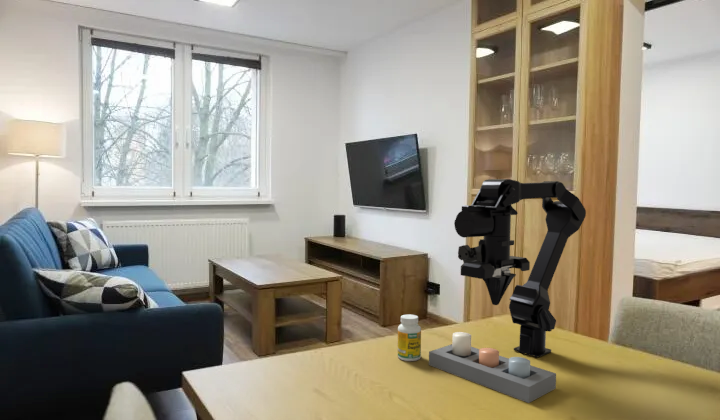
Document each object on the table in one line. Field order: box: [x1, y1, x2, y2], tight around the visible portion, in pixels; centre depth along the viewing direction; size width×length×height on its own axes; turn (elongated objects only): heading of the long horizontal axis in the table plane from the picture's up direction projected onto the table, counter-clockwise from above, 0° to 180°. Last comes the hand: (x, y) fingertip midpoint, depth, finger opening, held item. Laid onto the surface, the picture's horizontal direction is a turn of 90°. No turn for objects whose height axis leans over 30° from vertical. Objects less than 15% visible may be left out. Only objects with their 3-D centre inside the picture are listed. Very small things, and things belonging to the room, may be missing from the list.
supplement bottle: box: [397, 313, 422, 362], centre depth 109 cm, size 5×5×10 cm
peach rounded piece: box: [478, 347, 500, 368], centre depth 99 cm, size 4×4×4 cm
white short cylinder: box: [451, 331, 472, 356], centre depth 104 cm, size 4×4×4 cm
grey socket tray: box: [428, 343, 557, 404], centre depth 99 cm, size 10×24×3 cm, turn 40°
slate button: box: [509, 356, 531, 379], centre depth 94 cm, size 4×4×4 cm
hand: (495, 304), depth 107 cm, fingers closed
